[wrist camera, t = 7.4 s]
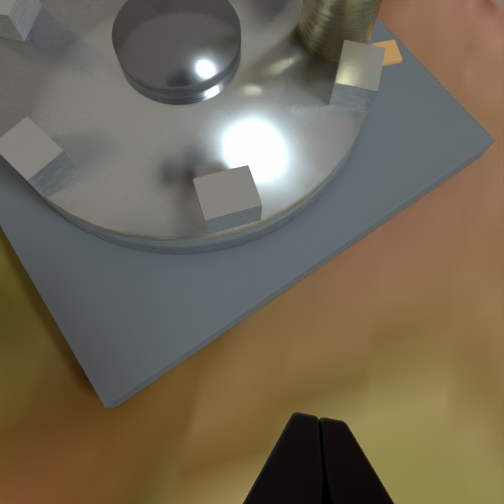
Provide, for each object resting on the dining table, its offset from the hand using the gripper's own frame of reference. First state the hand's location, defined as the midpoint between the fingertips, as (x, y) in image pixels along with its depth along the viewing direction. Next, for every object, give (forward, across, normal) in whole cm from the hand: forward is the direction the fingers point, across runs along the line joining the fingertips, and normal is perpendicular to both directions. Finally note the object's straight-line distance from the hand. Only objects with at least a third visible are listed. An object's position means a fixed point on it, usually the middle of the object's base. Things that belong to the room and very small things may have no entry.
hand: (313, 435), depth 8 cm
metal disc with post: (+17, +6, -3) cm, 18 cm away
